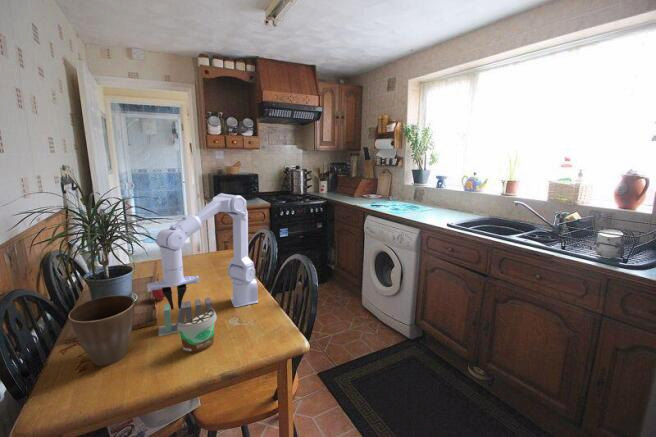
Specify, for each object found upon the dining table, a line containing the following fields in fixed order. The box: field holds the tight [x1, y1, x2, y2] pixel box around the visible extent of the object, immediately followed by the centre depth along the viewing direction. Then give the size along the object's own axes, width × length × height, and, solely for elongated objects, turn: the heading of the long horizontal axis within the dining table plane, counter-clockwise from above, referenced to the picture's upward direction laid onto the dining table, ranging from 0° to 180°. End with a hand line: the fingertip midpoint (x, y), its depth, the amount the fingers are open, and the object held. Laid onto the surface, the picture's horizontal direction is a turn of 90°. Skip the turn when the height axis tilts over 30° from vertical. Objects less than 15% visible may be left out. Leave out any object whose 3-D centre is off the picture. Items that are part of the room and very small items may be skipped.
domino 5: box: [204, 297, 213, 313], centre depth 110 cm, size 2×4×8 cm, turn 28°
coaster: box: [158, 322, 180, 337], centre depth 105 cm, size 6×6×1 cm
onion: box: [151, 289, 166, 301], centre depth 124 cm, size 6×6×8 cm
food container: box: [177, 307, 218, 354], centre depth 95 cm, size 12×6×10 cm, turn 148°
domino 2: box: [176, 301, 186, 331], centre depth 106 cm, size 2×4×8 cm, turn 28°
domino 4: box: [194, 298, 203, 316], centre depth 108 cm, size 2×4×8 cm, turn 28°
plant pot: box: [68, 294, 135, 367], centre depth 88 cm, size 15×15×16 cm
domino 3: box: [184, 300, 193, 322], centre depth 107 cm, size 2×4×8 cm, turn 28°
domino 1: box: [163, 303, 172, 333], centre depth 104 cm, size 2×4×8 cm, turn 27°
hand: (175, 307), depth 100 cm, fingers closed
